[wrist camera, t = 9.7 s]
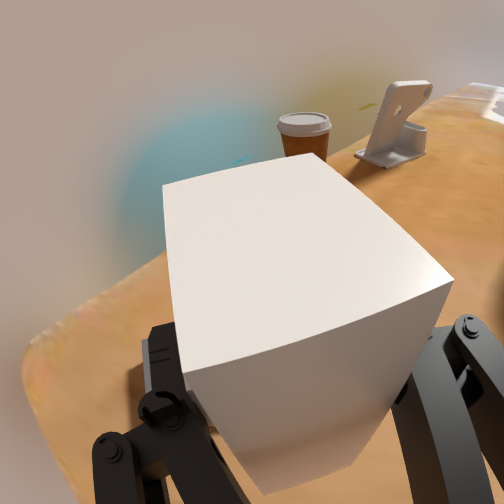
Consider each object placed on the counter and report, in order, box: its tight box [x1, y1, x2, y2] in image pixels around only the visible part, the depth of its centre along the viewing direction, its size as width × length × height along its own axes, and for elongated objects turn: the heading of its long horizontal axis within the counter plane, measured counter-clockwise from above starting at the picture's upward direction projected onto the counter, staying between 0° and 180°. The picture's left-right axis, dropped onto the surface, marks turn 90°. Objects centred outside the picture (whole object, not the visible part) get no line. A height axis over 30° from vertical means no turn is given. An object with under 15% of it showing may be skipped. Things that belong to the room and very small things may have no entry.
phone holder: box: [355, 80, 432, 169], centre depth 60 cm, size 17×10×18 cm, turn 121°
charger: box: [163, 153, 454, 495], centre depth 11 cm, size 4×6×13 cm
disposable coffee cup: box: [277, 112, 332, 163], centre depth 55 cm, size 10×10×12 cm
